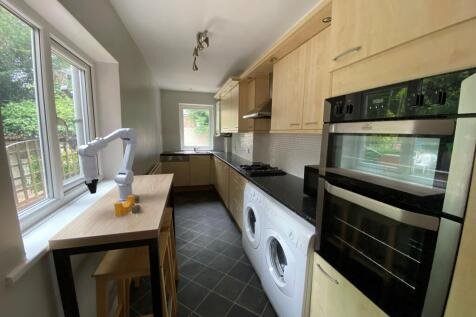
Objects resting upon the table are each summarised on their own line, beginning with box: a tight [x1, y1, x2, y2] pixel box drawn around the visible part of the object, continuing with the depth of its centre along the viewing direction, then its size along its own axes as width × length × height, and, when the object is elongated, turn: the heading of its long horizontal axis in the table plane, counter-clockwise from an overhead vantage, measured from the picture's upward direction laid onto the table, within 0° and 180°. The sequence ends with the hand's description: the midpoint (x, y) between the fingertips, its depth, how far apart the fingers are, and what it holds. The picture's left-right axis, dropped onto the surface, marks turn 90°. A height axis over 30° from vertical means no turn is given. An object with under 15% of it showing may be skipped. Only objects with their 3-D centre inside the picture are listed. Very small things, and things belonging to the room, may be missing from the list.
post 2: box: [130, 204, 141, 214], centre depth 99 cm, size 4×4×3 cm
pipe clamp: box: [113, 195, 136, 217], centre depth 100 cm, size 12×4×6 cm, turn 176°
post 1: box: [134, 195, 140, 204], centre depth 112 cm, size 4×4×3 cm
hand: (93, 193), depth 100 cm, fingers closed
